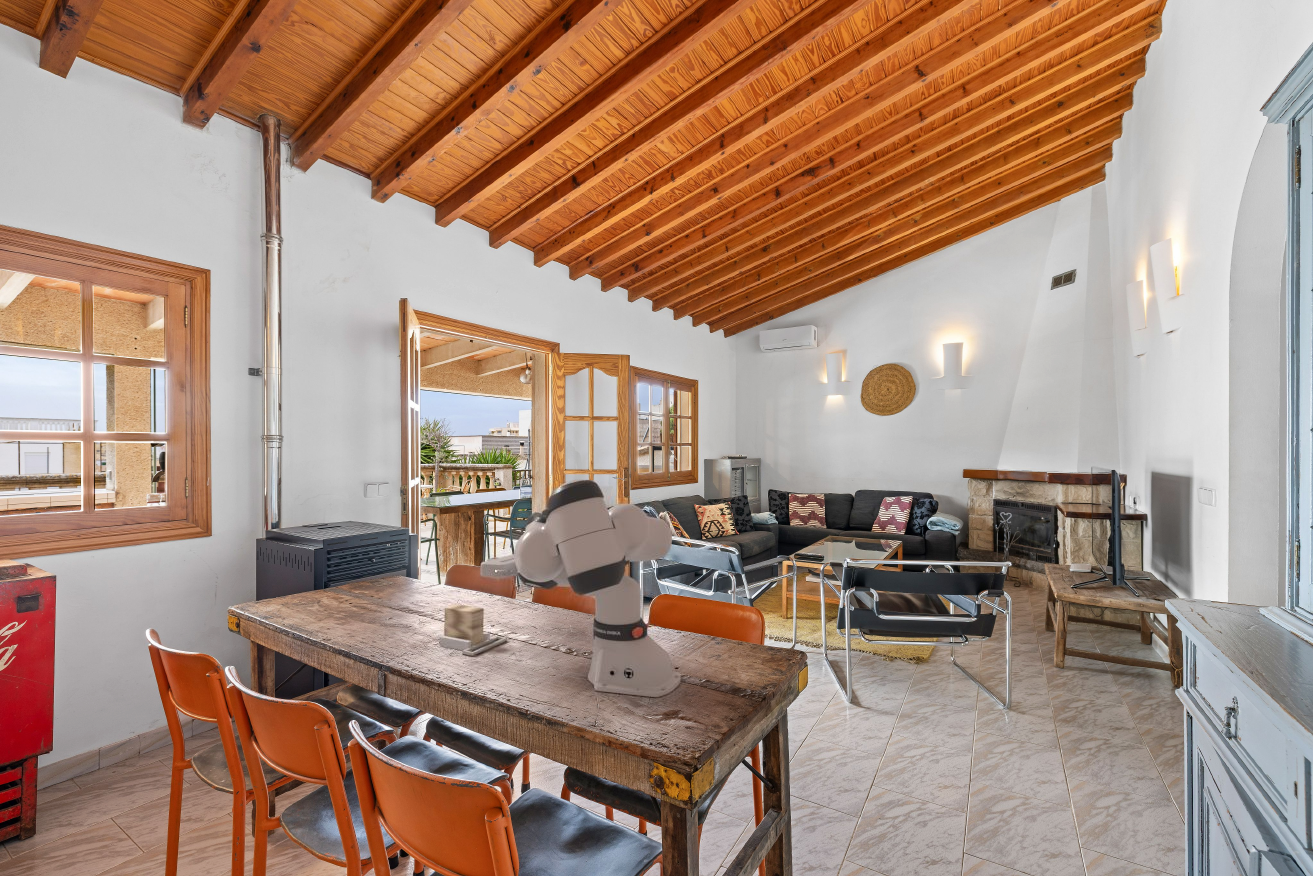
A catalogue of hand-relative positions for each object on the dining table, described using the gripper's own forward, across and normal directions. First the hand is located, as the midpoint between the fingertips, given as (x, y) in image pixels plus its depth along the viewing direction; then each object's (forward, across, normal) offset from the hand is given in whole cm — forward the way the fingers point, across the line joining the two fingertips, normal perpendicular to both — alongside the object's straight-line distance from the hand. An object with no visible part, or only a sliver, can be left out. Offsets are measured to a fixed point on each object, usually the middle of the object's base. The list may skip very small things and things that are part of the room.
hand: (490, 561), depth 163 cm
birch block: (+9, 0, -24) cm, 26 cm away
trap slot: (+1, 0, -24) cm, 24 cm away
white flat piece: (+9, 0, -24) cm, 25 cm away
